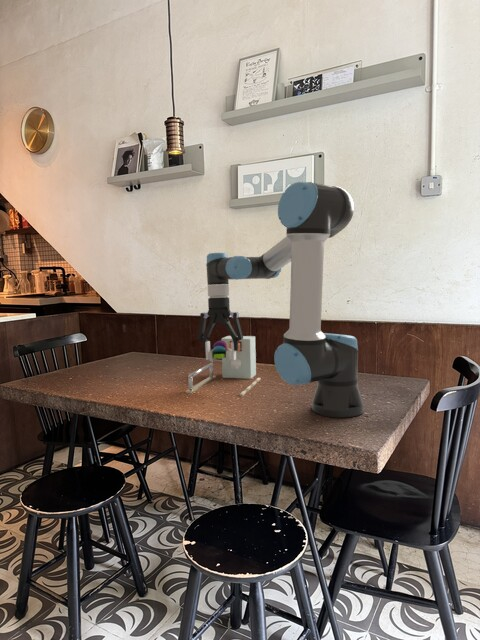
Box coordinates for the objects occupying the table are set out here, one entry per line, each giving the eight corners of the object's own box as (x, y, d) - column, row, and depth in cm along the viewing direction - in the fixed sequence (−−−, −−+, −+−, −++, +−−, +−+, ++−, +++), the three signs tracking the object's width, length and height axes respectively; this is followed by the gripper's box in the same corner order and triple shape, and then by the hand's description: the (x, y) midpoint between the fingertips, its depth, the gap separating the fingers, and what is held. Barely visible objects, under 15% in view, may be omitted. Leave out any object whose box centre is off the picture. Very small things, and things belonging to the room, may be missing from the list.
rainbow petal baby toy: (234, 358, 162) (233, 338, 162) (230, 362, 153) (229, 342, 152) (211, 358, 163) (210, 339, 163) (206, 363, 154) (205, 342, 153)
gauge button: (238, 351, 173) (238, 343, 173) (229, 350, 174) (228, 343, 174) (241, 349, 176) (240, 342, 176) (231, 349, 177) (231, 342, 177)
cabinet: (250, 379, 175) (249, 339, 174) (222, 377, 179) (221, 338, 177) (256, 374, 183) (255, 336, 182) (228, 373, 187) (227, 335, 185)
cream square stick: (242, 396, 151) (242, 394, 151) (239, 395, 151) (239, 394, 151) (260, 379, 174) (260, 377, 174) (258, 379, 175) (258, 377, 175)
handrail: (191, 393, 156) (190, 375, 156) (186, 392, 157) (185, 375, 156) (215, 377, 180) (215, 362, 179) (210, 377, 181) (210, 361, 180)
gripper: (250, 295, 157) (253, 358, 159) (194, 297, 163) (196, 357, 165) (245, 296, 150) (247, 361, 152) (186, 298, 156) (188, 360, 158)
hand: (221, 359), depth 158 cm, fingers closed on rainbow petal baby toy, 9 cm apart
